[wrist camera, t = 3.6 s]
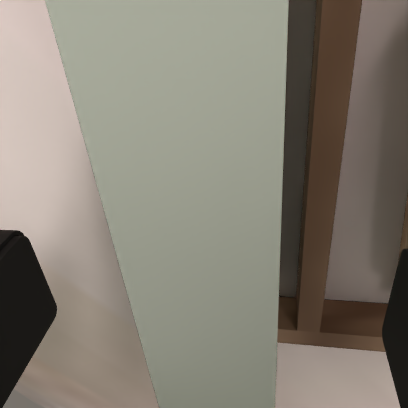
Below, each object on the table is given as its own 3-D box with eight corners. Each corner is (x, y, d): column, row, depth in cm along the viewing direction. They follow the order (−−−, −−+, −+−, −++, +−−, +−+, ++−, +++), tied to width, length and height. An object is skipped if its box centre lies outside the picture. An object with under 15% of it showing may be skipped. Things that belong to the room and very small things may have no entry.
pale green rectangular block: (286, -79, 11) (291, -99, 4) (276, 273, 19) (272, 484, 12) (184, -68, 12) (25, -69, 4) (216, 269, 20) (176, 469, 12)
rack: (824, -289, 8) (967, -348, 6) (500, 325, 18) (521, 363, 17) (102, -171, 11) (70, -190, 9) (182, 302, 21) (174, 333, 20)
